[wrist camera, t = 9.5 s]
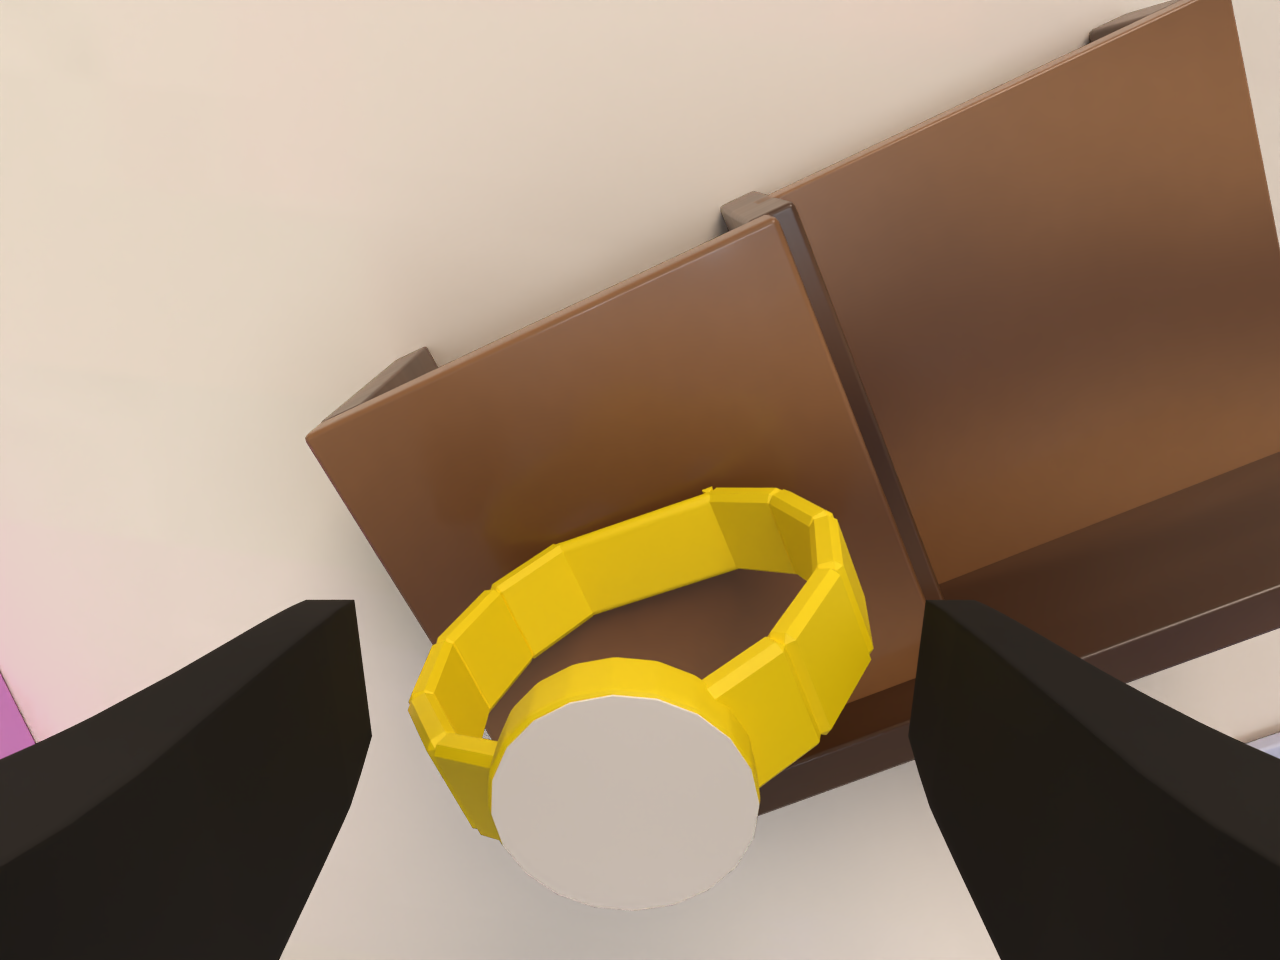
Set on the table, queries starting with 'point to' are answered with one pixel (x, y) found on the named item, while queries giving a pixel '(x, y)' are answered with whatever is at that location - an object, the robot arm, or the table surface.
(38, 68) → the table surface
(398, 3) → the table surface
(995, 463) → the step shelf
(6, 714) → the bracket
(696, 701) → the watch
